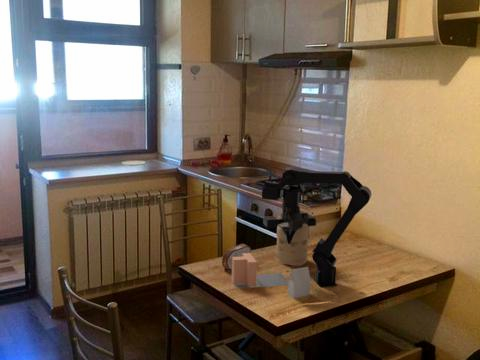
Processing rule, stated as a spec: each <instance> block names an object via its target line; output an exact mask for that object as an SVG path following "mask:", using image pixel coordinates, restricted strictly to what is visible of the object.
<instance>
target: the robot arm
mask: <svg viewBox="0 0 480 360" xmlns="http://www.w3.org/2000/svg"><path fill="white" fill-rule="evenodd" d="M309 183H312V184H313V183H314V184H335V185H336V184H340V185H341V186H342V187H344V189H345V191H346V192H347V193H348V195H349V196H351V197H350V199H349V202H348V205H347V207H346V209H345V211H344V212H343V214H342V215H341V216H340V218H339V219H338V221H337V222H336V224H335V226H334V227H333V228H332V230H331V231H330V233H329V234H328V236H327V237H326V238H321V237H320V239H319V241H318V242H317V244H316V245H315V246H314V248H313V250H312V251H311V252H312V261H313V262H314V263H315V265H316V270H315V271H314V279H313V280H314V282H315V283H316V284H317V285H318V286H319V287H320V288H324V287H325V288H326V287H337V286H338V283H337V282H336V277H337V276H336V275H337V267H336V266H335V265H336V263H337V260H338V259H337V258H336V256H335V255H334V254H333V251H334V249H335V246H336V244H337V243H338V241H339V240H340V238H341V237H342V235H344V234H343V233H344V232H345V231H346V229H347V228H348V226H349V225H350V224H351V222H352V220H353V219H354V217H355V216H356V215H357V214H358V213H359V212H360V211H362V209H363V208H364V207H366V205H367V204H368V203H369V202H370V199H371V198H372V190H371V189H370V188H369V187H368V186H365V185H363V184H362V183H361V182H360V181H359V180H357V179H356V178H355V177H354V176H353V175H352V174H351V173H350V172H348V171H345V170H344V171H325V170H323V171H321V170H319V171H318V170H317V171H316V170H307V169H305V168H300V167H296V166H292V167H289V168H288V169H286V170H285V171H284V172H283V174H282V179H281V180H280V181H279V182H275V181H270V180H266V181H264V183H263V187H262V191H261V198H262V200H265V201H273V202H279V201H280V200H281V199H282V203H281V207H282V209H281V210H282V211H281V212H282V213H281V214H280V216H281V217H282V219H278V218H277V217H275V216H274V215H270V216H269V215H268V216H266V215H265V216H264V217H263V219H262V224H263V225H264V226H265V227H266V228H268V229H272V228H273V229H274V228H275V229H277V227H278V226H279V227H280V228H281V229H282V230H283V232H284V235H285V238H286V241H287V244H290V243H291V241H292V238H293V236H294V234H295V232H296V231H297V230H298V229H300V228H302V227H303V224H307V225H308V226H309V227H317V219H316V217H314V216H313V215H311V214H309V213H308V212H301V210H300V209H301V208H300V206H299V203H300V193H303V192H305V190H306V188H305V187H303V185H304V184H309ZM287 186H289V187H287Z"/></svg>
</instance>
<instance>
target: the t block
mask: <svg viewBox="0 0 480 360" xmlns="http://www.w3.org/2000/svg"><path fill="white" fill-rule="evenodd" d="M257 269H258V261H257V260H256V258H255V257H254V256H253V254H252V252H251V253H242V257H232V269H231V277H232V281H231V283H232V282H233V283H232V284H233V285H234V284H242V283H246V284H247V286H248V287H250V286H256V276H257V275H258V274H257V273H258V270H257Z"/></svg>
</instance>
